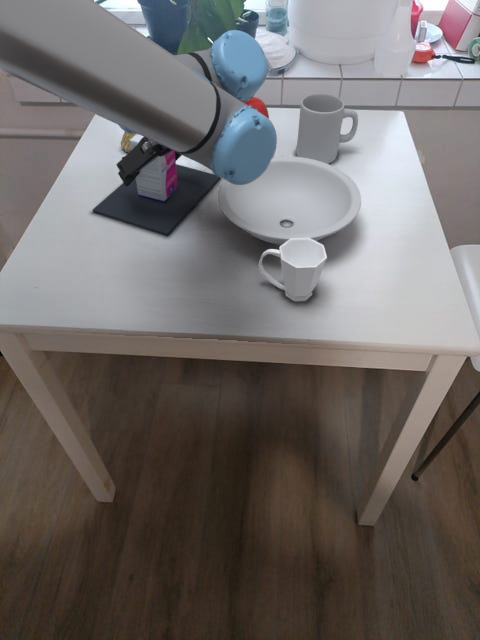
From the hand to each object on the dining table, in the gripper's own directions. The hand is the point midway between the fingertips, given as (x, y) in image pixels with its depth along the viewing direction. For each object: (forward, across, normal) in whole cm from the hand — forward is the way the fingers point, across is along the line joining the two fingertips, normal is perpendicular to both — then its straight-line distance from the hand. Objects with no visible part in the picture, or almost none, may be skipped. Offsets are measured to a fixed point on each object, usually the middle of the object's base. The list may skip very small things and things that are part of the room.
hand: (146, 168), depth 92 cm
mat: (+1, 0, -5) cm, 5 cm away
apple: (+2, +25, -4) cm, 25 cm away
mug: (-8, +34, -14) cm, 38 cm away
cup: (-23, -1, -30) cm, 38 cm away
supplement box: (+1, 0, -5) cm, 5 cm away
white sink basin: (-15, +10, -22) cm, 29 cm away
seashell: (+14, +10, +8) cm, 19 cm away
